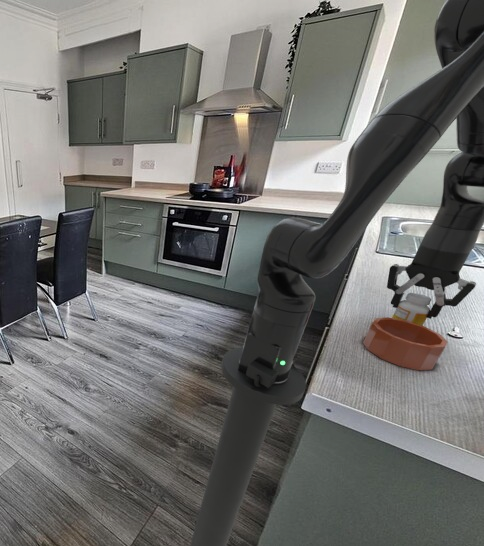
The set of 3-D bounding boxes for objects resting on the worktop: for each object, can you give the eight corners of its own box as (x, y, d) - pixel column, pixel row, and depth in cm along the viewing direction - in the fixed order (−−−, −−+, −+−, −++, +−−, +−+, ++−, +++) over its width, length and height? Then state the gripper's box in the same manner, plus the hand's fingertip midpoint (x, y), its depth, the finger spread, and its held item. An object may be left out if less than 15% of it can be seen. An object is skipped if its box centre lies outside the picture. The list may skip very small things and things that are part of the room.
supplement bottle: (417, 330, 78) (435, 296, 74) (417, 339, 74) (436, 304, 71) (388, 322, 81) (404, 289, 78) (387, 330, 78) (403, 296, 74)
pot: (427, 377, 64) (441, 354, 62) (357, 348, 73) (366, 327, 70) (438, 357, 70) (451, 335, 68) (372, 332, 79) (381, 312, 76)
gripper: (397, 241, 72) (369, 304, 79) (494, 259, 62) (452, 330, 68) (405, 236, 76) (378, 296, 83) (498, 252, 66) (458, 320, 72)
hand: (412, 311), depth 76 cm, fingers closed on supplement bottle, 5 cm apart
